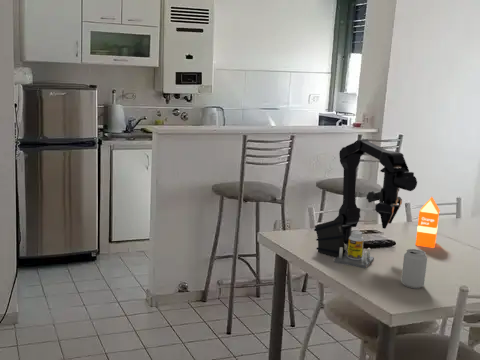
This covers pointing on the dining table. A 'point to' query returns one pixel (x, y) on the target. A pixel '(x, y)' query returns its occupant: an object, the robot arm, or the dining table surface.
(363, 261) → the grey stand
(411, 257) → the can
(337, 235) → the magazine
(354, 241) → the supplement bottle
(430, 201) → the orange juice
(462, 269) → the dining table surface
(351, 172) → the robot arm
